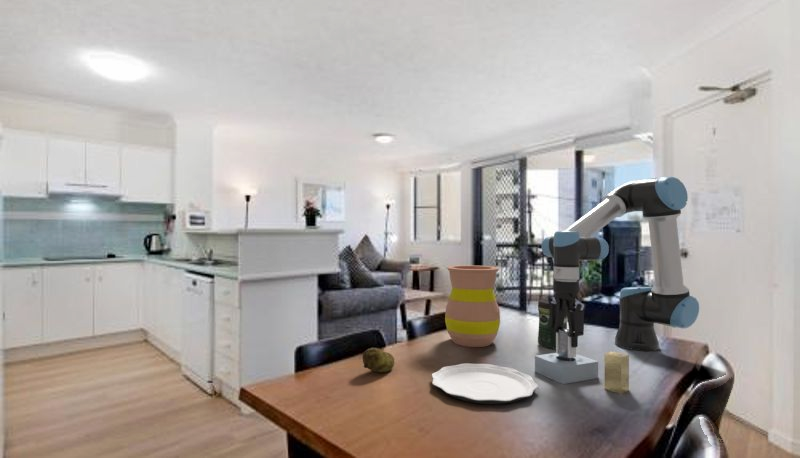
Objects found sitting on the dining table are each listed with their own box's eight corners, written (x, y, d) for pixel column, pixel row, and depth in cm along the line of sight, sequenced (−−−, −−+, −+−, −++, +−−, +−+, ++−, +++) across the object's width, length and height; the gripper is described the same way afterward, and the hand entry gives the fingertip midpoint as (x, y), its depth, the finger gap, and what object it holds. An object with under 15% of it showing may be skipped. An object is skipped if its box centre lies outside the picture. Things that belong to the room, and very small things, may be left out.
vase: (506, 349, 158) (506, 270, 158) (447, 349, 158) (448, 269, 158) (493, 335, 180) (494, 265, 180) (442, 334, 180) (442, 265, 180)
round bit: (565, 366, 134) (565, 328, 134) (576, 370, 130) (576, 331, 130) (555, 367, 132) (555, 329, 132) (565, 371, 128) (565, 332, 128)
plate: (473, 418, 100) (473, 408, 100) (413, 379, 126) (413, 371, 126) (560, 396, 114) (560, 388, 114) (489, 365, 140) (489, 358, 140)
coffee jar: (568, 348, 160) (568, 299, 160) (552, 350, 157) (552, 301, 157) (549, 342, 169) (549, 296, 169) (534, 344, 166) (534, 297, 166)
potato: (404, 371, 133) (404, 346, 133) (369, 379, 125) (370, 353, 125) (388, 364, 139) (389, 340, 140) (355, 372, 132) (355, 346, 132)
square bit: (612, 385, 122) (612, 351, 122) (628, 390, 118) (628, 354, 118) (604, 389, 119) (604, 353, 119) (621, 394, 115) (621, 357, 115)
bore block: (568, 366, 139) (568, 351, 139) (598, 377, 128) (598, 361, 128) (534, 371, 134) (534, 355, 134) (563, 384, 123) (563, 366, 123)
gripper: (537, 277, 137) (537, 349, 137) (578, 284, 122) (578, 364, 121) (555, 276, 140) (555, 346, 140) (597, 282, 125) (597, 361, 124)
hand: (566, 354), depth 131 cm, fingers closed on round bit, 4 cm apart
